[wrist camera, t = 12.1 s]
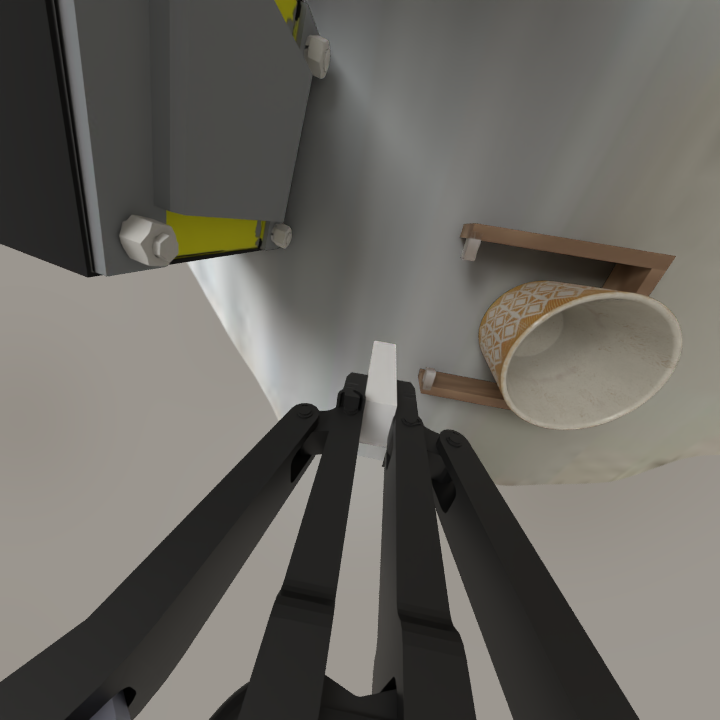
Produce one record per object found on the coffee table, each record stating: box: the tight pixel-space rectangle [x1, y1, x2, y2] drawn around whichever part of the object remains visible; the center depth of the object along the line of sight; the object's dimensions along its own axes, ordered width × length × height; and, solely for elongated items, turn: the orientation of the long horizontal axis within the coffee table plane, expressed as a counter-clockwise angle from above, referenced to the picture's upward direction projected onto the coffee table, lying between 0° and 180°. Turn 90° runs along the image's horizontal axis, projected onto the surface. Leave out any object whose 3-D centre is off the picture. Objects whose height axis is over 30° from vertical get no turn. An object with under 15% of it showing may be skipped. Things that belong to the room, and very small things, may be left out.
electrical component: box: [0, 0, 330, 277], centre depth 16 cm, size 18×10×20 cm, turn 160°
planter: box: [479, 281, 683, 430], centre depth 25 cm, size 13×13×10 cm
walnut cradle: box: [418, 223, 676, 410], centre depth 28 cm, size 18×17×4 cm
